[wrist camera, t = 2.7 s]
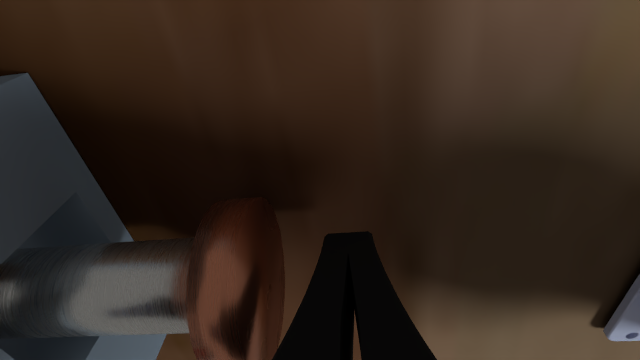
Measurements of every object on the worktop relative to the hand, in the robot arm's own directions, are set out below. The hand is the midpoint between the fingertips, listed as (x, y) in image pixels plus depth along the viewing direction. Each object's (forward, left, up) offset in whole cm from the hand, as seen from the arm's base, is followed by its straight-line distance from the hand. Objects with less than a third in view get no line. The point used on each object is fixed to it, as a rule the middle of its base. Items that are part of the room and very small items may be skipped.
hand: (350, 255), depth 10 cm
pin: (+8, 0, -2) cm, 8 cm away
